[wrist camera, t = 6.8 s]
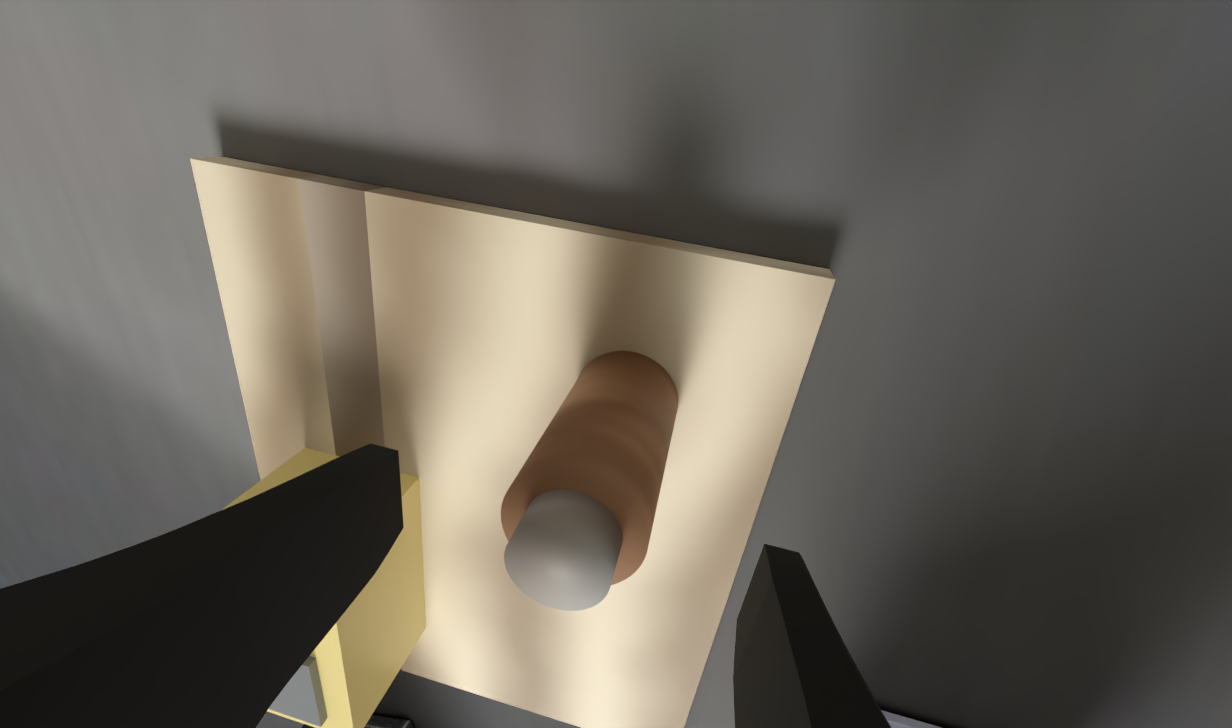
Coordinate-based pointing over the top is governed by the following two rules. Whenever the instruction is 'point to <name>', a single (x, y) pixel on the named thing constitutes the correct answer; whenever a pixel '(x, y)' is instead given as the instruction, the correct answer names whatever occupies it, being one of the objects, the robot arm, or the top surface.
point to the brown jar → (591, 484)
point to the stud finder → (358, 622)
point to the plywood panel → (513, 406)
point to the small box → (382, 723)
